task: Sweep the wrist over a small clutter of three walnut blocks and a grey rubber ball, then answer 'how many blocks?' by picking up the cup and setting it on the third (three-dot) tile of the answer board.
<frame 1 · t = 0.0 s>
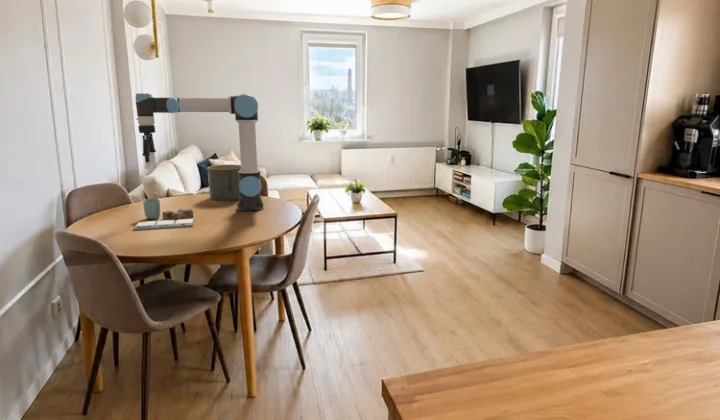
hand: (150, 166, 233), 28 cm above the table, fingers open, 13 cm apart
grey ball: (181, 215, 248), on the table
walnut block a: (188, 217, 246), on the table
answer board: (165, 225, 229), on the table
walnut block c: (168, 219, 241), on the table
cup: (153, 218, 242), on the table
planter: (227, 198, 294), on the table
walnut block b: (177, 220, 239), on the table
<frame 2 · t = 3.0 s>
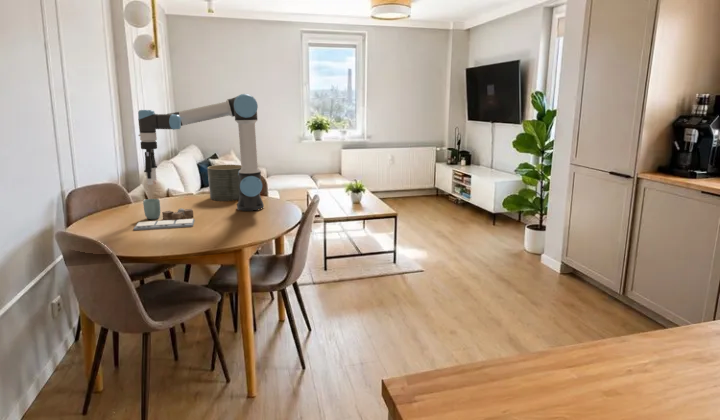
hand: (151, 182, 234), 20 cm above the table, fingers open, 13 cm apart
nothing on the table moved.
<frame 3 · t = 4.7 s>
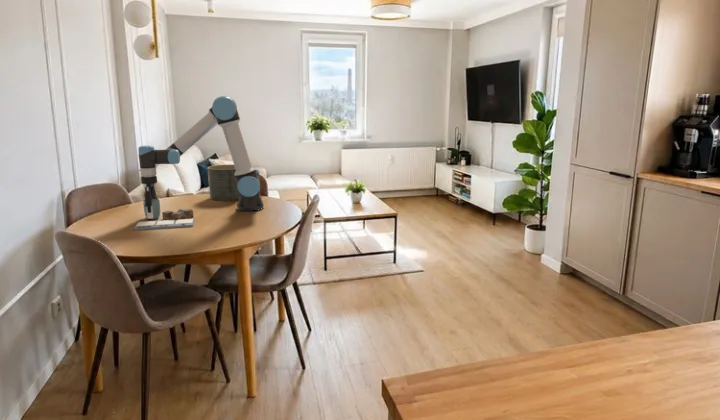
hand: (152, 215, 241), 2 cm above the table, fingers open, 13 cm apart
nothing on the table moved.
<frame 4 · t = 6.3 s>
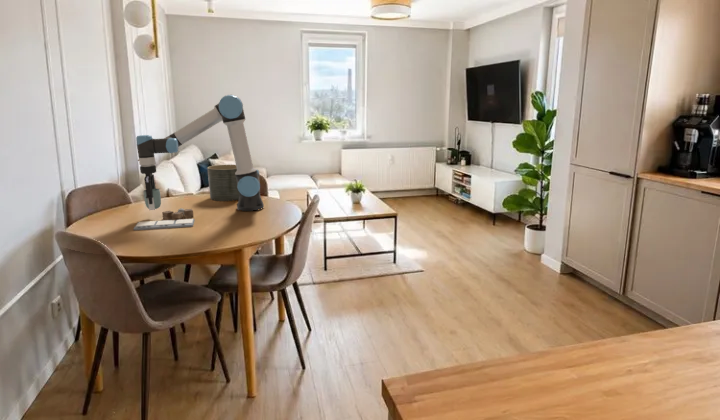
hand: (153, 208, 240), 6 cm above the table, fingers closed on cup, 8 cm apart
cup: (154, 208, 241), point 5 cm above the table, touching gripper
everything else where it was.
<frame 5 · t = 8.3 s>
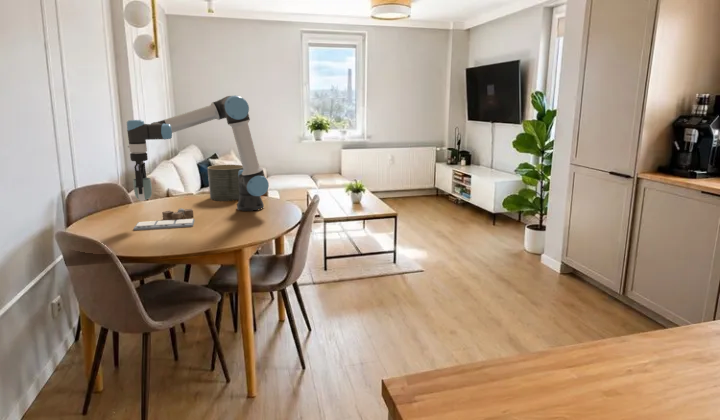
hand: (143, 198, 225), 14 cm above the table, fingers closed on cup, 8 cm apart
cup: (144, 199, 225), point 14 cm above the table, touching gripper
everything else where it was.
when the fingers open (3 cm above the table, at t = 10.6 s): cup drops 1 cm, resting on answer board.
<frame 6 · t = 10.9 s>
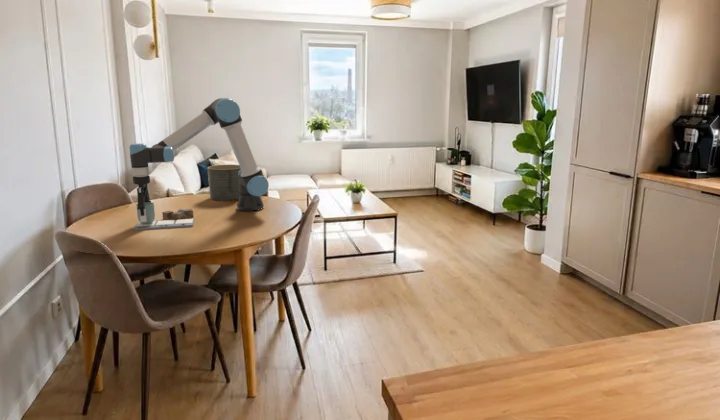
hand: (145, 218, 227), 4 cm above the table, fingers open, 11 cm apart
cup: (147, 223, 228), point 1 cm above the table, touching answer board
everything else where it was.
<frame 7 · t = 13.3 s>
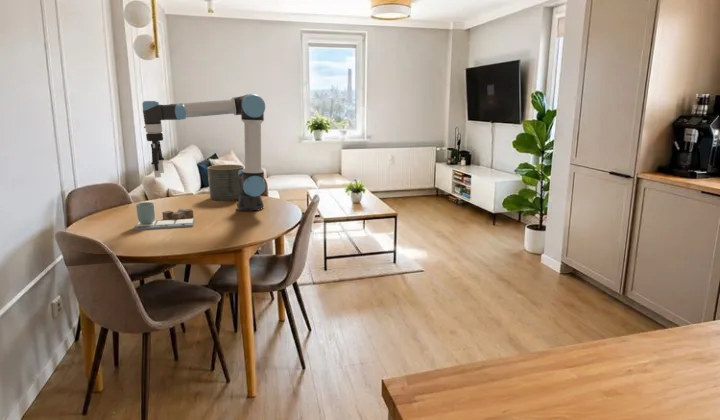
hand: (159, 175, 230), 24 cm above the table, fingers open, 13 cm apart
nothing on the table moved.
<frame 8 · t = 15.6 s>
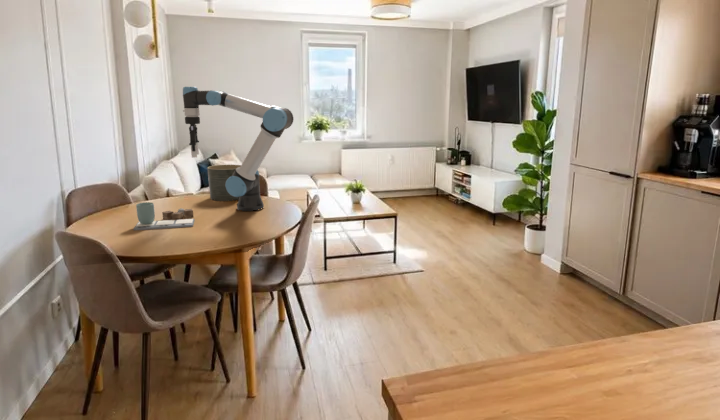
hand: (195, 155, 249), 32 cm above the table, fingers open, 13 cm apart
nothing on the table moved.
at the end: cup inside the target area on the answer board (0.6 cm from its centre), point 1.0 cm above the answer board's base; cup tilted 0°; the gripper is holding nothing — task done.
